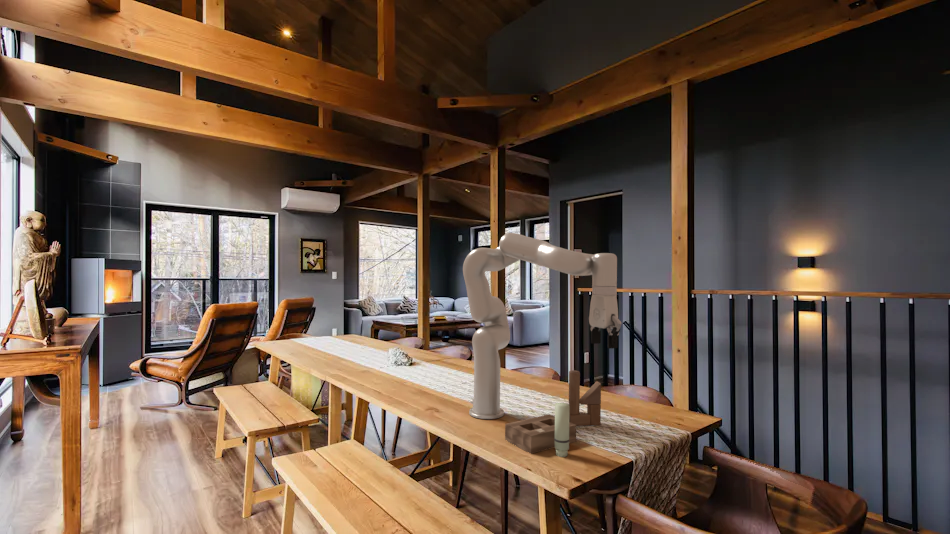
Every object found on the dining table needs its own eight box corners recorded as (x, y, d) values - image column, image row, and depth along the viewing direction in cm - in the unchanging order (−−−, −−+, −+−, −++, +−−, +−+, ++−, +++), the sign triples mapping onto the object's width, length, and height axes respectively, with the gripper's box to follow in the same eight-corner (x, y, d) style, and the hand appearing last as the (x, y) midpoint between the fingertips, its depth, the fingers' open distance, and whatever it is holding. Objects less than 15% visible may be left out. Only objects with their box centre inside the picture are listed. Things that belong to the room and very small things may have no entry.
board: (505, 440, 136) (505, 423, 137) (548, 429, 146) (549, 414, 147) (530, 453, 126) (531, 435, 127) (576, 441, 136) (576, 424, 137)
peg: (551, 453, 127) (551, 403, 127) (561, 450, 129) (562, 401, 129) (561, 458, 123) (562, 407, 124) (572, 455, 126) (572, 405, 126)
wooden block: (600, 425, 151) (601, 372, 152) (570, 426, 150) (570, 372, 150) (596, 422, 155) (597, 369, 155) (566, 423, 154) (567, 370, 154)
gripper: (580, 290, 150) (579, 342, 150) (609, 293, 134) (608, 350, 133) (600, 290, 152) (599, 341, 152) (631, 293, 136) (630, 349, 135)
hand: (603, 345), depth 143 cm, fingers open, 9 cm apart
